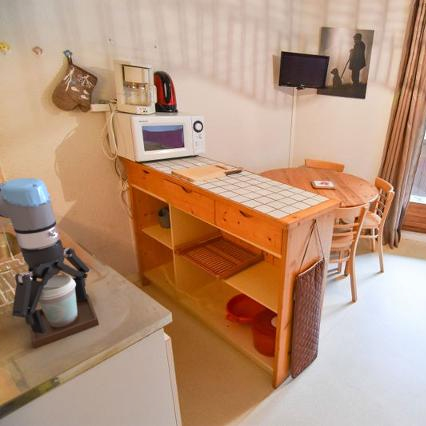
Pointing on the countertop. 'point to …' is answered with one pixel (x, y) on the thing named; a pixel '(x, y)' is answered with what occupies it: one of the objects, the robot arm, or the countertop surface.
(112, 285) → the countertop surface
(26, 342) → the countertop surface
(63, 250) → the robot arm
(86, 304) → the tray
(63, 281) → the coffee cup
